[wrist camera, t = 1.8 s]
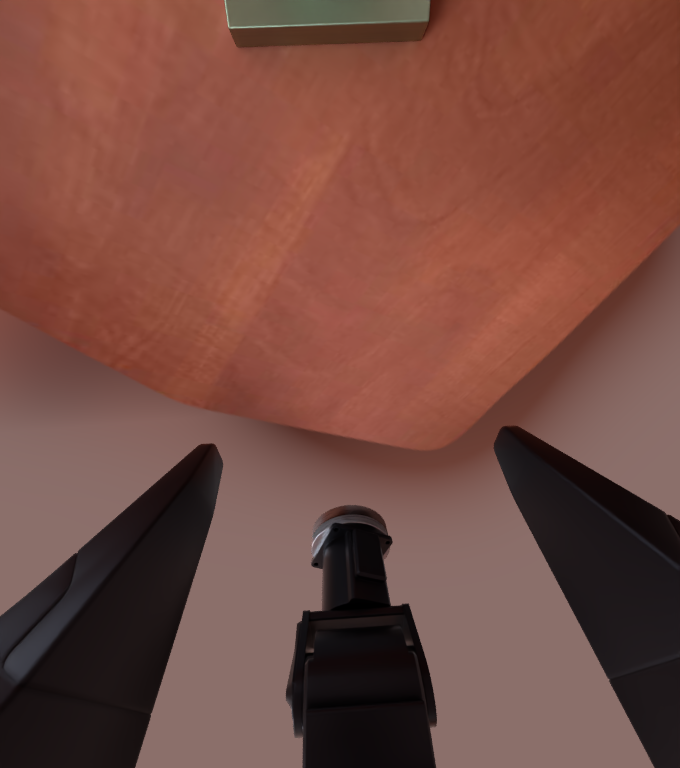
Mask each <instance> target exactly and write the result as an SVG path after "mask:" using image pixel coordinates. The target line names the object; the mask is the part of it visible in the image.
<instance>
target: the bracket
mask: <svg viewBox="0 0 680 768" xmlns="http://www.w3.org/2000/svg"><path fill="white" fill-rule="evenodd" d="M430 1H431V0H224V2H225V8H226V15H227V22H228V28H229V30H230V32H231V35H232V37H233V39H234V42H235V44H236V46H237V47H258V46H287V45H316V44H345V43H374V42H403V41H421V40H422V37H423V35H424V32H425V30H426V27H427V25H428V23H429V16H430Z"/></svg>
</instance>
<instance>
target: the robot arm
mask: <svg viewBox="0 0 680 768" xmlns="http://www.w3.org/2000/svg"><path fill="white" fill-rule="evenodd" d="M494 451H495V454H496V456H497V459H498V461H499V464H500V466H501V469H502V471H503V474H504V476H505V479H506V481H507V484H508V486H509V489H510V491H511V493H512V495H513V497H514V500H515V502H516V504H517V505H518V507H519V509H520V511H521V513H522V515H523V517H524V519H525V521H526V523H527V525H528V526H529V529H530V530H531V532H532V534H533V536H534V538H535V540H536V542H537V544H538V546H539V548H540V549H541V551H542V553H543V555H544V557H545V559H546V561H547V563H548V565H549V567H550V569H551V571H552V572H553V574H554V576H555V578H556V580H557V582H558V584H559V586H560V588H561V590H562V592H563V593H564V595H565V597H566V599H567V601H568V603H569V605H570V607H571V609H572V611H573V612H574V614H575V616H576V618H577V620H578V622H579V624H580V626H581V628H582V630H583V632H584V633H585V635H586V637H587V639H588V641H589V643H590V645H591V647H592V649H593V651H594V653H595V654H596V656H597V658H598V660H599V662H600V664H601V666H602V668H603V670H604V672H605V673H606V676H607V677H608V679H610V680H609V682H610V684H611V686H612V687H613V689H614V691H615V693H616V695H617V697H618V699H619V701H620V703H621V704H622V706H623V708H624V710H625V712H626V714H627V716H628V718H629V720H630V722H631V724H632V726H633V727H634V729H635V731H636V733H637V735H638V737H639V739H640V741H641V743H642V744H643V746H644V749H645V750H646V752H647V754H648V756H649V757H650V760H651V762H652V764H653V766H654V767H655V768H680V521H679V520H678V519H675V518H674V517H672V516H671V515H666V513H665V512H664V511H662V510H660V509H658V508H657V507H655V506H653V505H652V504H650V503H648V502H647V501H645V500H643V499H641V498H640V497H638V496H636V495H635V494H633V493H631V492H630V491H628V490H626V489H624V488H623V487H621V486H619V485H618V484H616V483H614V482H612V481H611V480H609V479H607V478H605V477H604V476H602V475H600V474H599V473H597V472H595V471H594V470H592V469H590V468H588V467H586V466H585V465H583V464H582V463H580V462H578V461H576V460H575V459H573V458H571V457H570V456H568V455H566V454H564V453H563V452H561V451H559V450H558V449H556V448H554V447H552V446H551V445H549V444H547V443H546V442H544V441H542V440H541V439H539V438H537V437H535V436H533V435H532V434H530V433H528V432H527V431H525V430H523V429H522V428H520V427H518V426H504V427H502V428H501V429H500V431H499V433H498V436H497V438H496V440H495V443H494ZM222 468H223V462H222V458H221V456H220V454H219V452H218V449H217V447H216V445H215V444H201V445H199V446H197V447H196V448H195V449H194V450H193V451H192V452H190V453H189V454H188V455H187V456H186V457H185V458H184V459H182V460H181V461H180V462H179V463H178V464H177V465H176V466H174V467H173V468H172V469H171V470H170V471H169V472H168V473H166V474H165V475H164V476H163V477H162V478H161V479H160V480H158V481H157V482H156V483H155V484H154V485H153V486H152V487H150V488H149V489H148V490H147V491H146V492H145V493H144V494H142V495H141V496H140V497H139V498H138V499H137V500H136V501H135V502H133V503H132V504H131V505H130V506H129V507H128V508H127V509H125V510H124V511H123V512H122V513H121V514H120V515H118V516H117V517H116V518H115V519H114V520H113V521H112V522H110V523H109V524H108V525H107V526H106V527H105V528H104V529H102V530H101V531H100V532H99V533H98V534H97V535H96V536H94V537H93V538H92V539H91V540H90V541H89V542H88V543H87V544H85V545H84V546H83V547H82V548H81V549H80V550H79V551H78V553H75V554H74V555H73V556H71V557H70V558H69V559H68V560H67V561H66V562H65V563H63V564H62V565H61V566H60V567H59V568H58V569H57V570H55V571H54V572H53V573H52V574H51V575H50V576H48V577H47V578H46V579H45V580H44V581H43V582H41V583H40V584H39V585H38V586H37V587H36V588H34V589H33V590H32V591H31V592H29V593H28V594H27V595H26V596H25V597H23V598H22V599H21V600H20V601H19V602H17V603H16V604H15V605H14V606H12V607H11V608H10V609H9V610H7V611H6V612H5V613H4V614H2V615H1V616H0V768H135V766H136V763H137V760H138V756H139V753H140V750H141V747H142V744H143V740H144V737H145V734H146V731H147V728H148V724H149V721H150V717H151V713H152V710H153V707H154V704H155V701H156V698H157V695H158V691H159V688H160V685H161V682H162V679H163V675H164V672H165V669H166V666H167V662H168V659H169V656H170V653H171V649H172V647H173V643H174V640H175V637H176V633H177V630H178V627H179V624H180V621H181V618H182V614H183V611H184V608H185V605H186V601H187V598H188V595H189V592H190V588H191V585H192V582H193V579H194V576H195V573H196V569H197V566H198V563H199V560H200V557H201V553H202V550H203V547H204V543H205V540H206V537H207V534H208V531H209V528H210V524H211V521H212V518H213V514H214V509H215V504H216V499H217V494H218V489H219V484H220V479H221V474H222ZM391 544H392V538H391V537H390V536H388V535H384V534H380V533H376V532H373V531H369V530H365V529H361V528H357V527H353V526H349V525H345V524H341V523H333V524H332V525H331V527H330V528H329V530H328V532H327V534H326V535H325V537H324V539H323V541H322V542H321V544H320V546H319V548H318V549H317V551H316V553H315V555H314V557H313V558H312V562H311V565H312V566H313V567H316V568H320V569H323V581H322V582H323V583H322V611H314V612H310V610H308V611H303V616H302V621H301V622H299V623H298V624H297V631H296V642H295V651H294V656H293V661H292V665H291V670H290V675H289V679H288V684H287V689H286V701H287V702H288V704H289V706H290V708H291V709H292V719H293V727H294V736H295V738H301V737H303V768H436V764H435V758H434V752H433V745H432V738H431V733H430V727H436V724H437V717H436V716H437V715H436V706H435V699H434V693H433V687H432V683H431V677H430V673H429V669H428V665H427V661H426V658H425V655H424V651H423V649H422V645H421V642H420V639H419V635H418V632H417V629H416V626H415V623H414V620H413V616H412V613H411V610H410V606H409V604H402V605H400V606H391V604H390V598H389V593H388V588H387V582H386V579H387V577H386V571H385V566H384V560H383V555H384V554H385V553H386V551H387V550H388V549H389V547H390V546H391Z"/></svg>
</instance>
